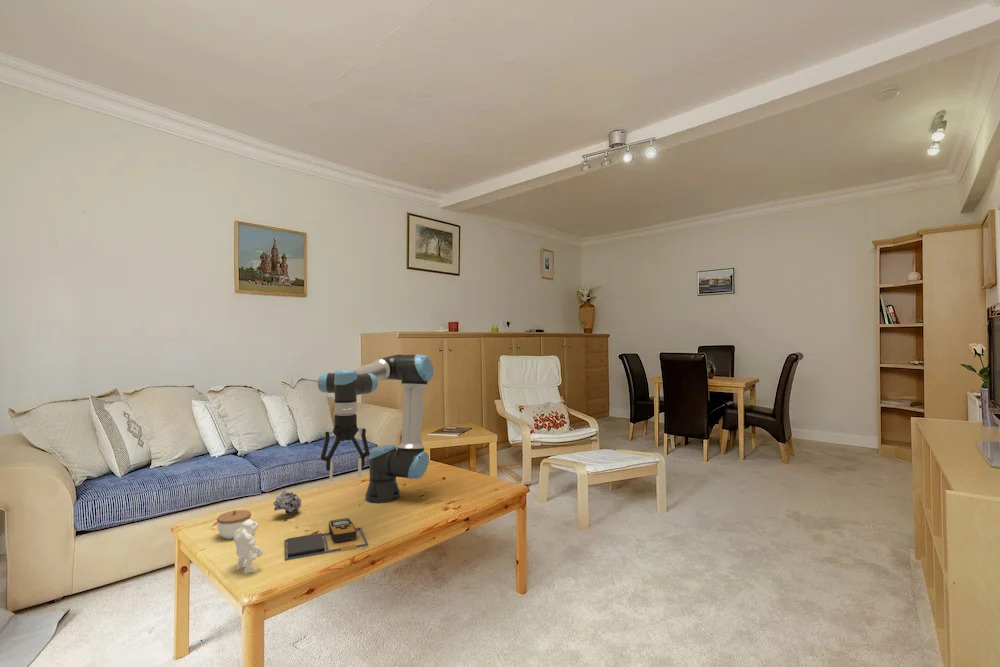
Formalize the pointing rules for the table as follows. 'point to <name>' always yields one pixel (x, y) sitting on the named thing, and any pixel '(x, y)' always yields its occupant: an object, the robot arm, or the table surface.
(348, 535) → the electronic device
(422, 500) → the table surface
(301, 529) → the table surface
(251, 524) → the figurine
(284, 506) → the mineral specimen
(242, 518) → the lidded jar
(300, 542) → the grey flat frame
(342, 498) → the table surface
